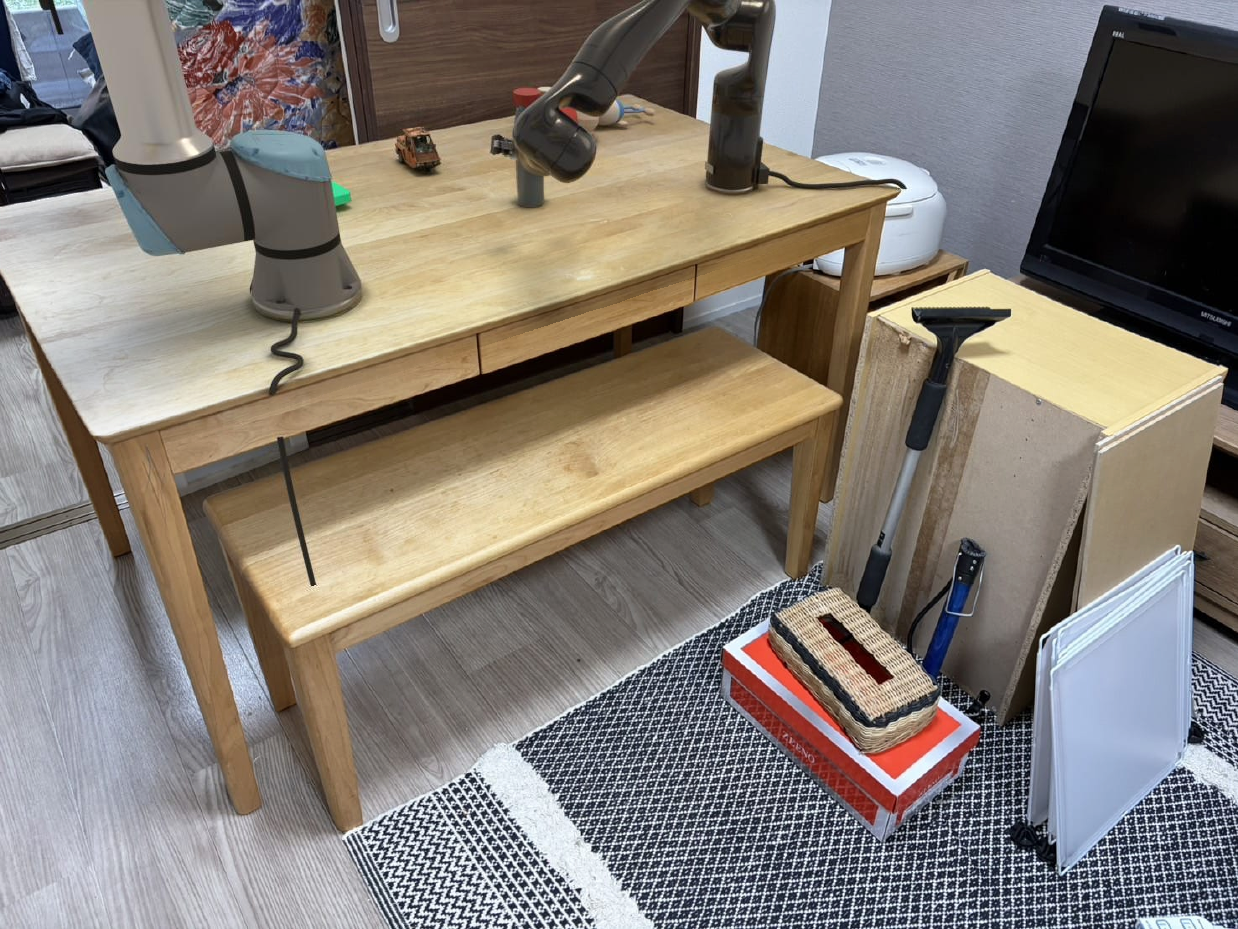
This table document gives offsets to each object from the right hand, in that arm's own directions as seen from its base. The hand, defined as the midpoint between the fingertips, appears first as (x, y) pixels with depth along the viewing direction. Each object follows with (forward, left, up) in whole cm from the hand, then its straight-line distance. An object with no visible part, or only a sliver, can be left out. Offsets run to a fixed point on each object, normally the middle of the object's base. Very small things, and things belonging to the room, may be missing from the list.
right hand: (534, 153), depth 147 cm
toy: (-23, -53, -14) cm, 59 cm away
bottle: (-2, -15, -14) cm, 20 cm away
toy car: (+16, -38, -14) cm, 43 cm away
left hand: (+62, -29, +14) cm, 70 cm away
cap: (-2, -15, +5) cm, 16 cm away
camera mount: (+35, -22, -14) cm, 44 cm away
